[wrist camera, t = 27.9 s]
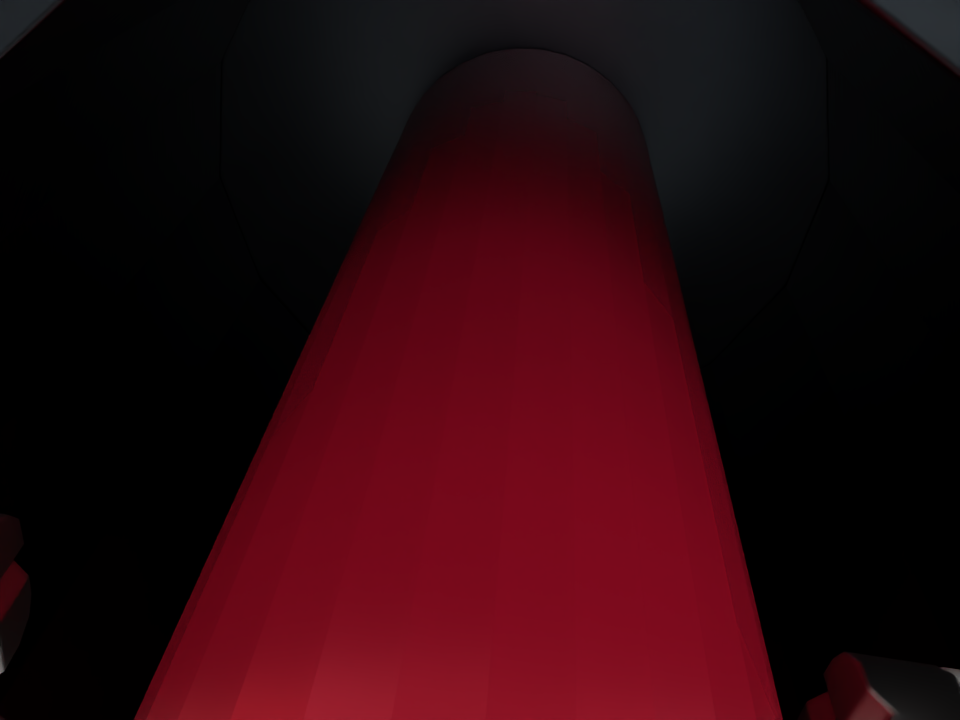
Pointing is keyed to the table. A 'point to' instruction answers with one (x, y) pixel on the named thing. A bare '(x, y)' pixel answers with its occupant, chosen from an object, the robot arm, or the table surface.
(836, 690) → the robot arm
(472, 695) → the bottle
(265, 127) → the trash bin
